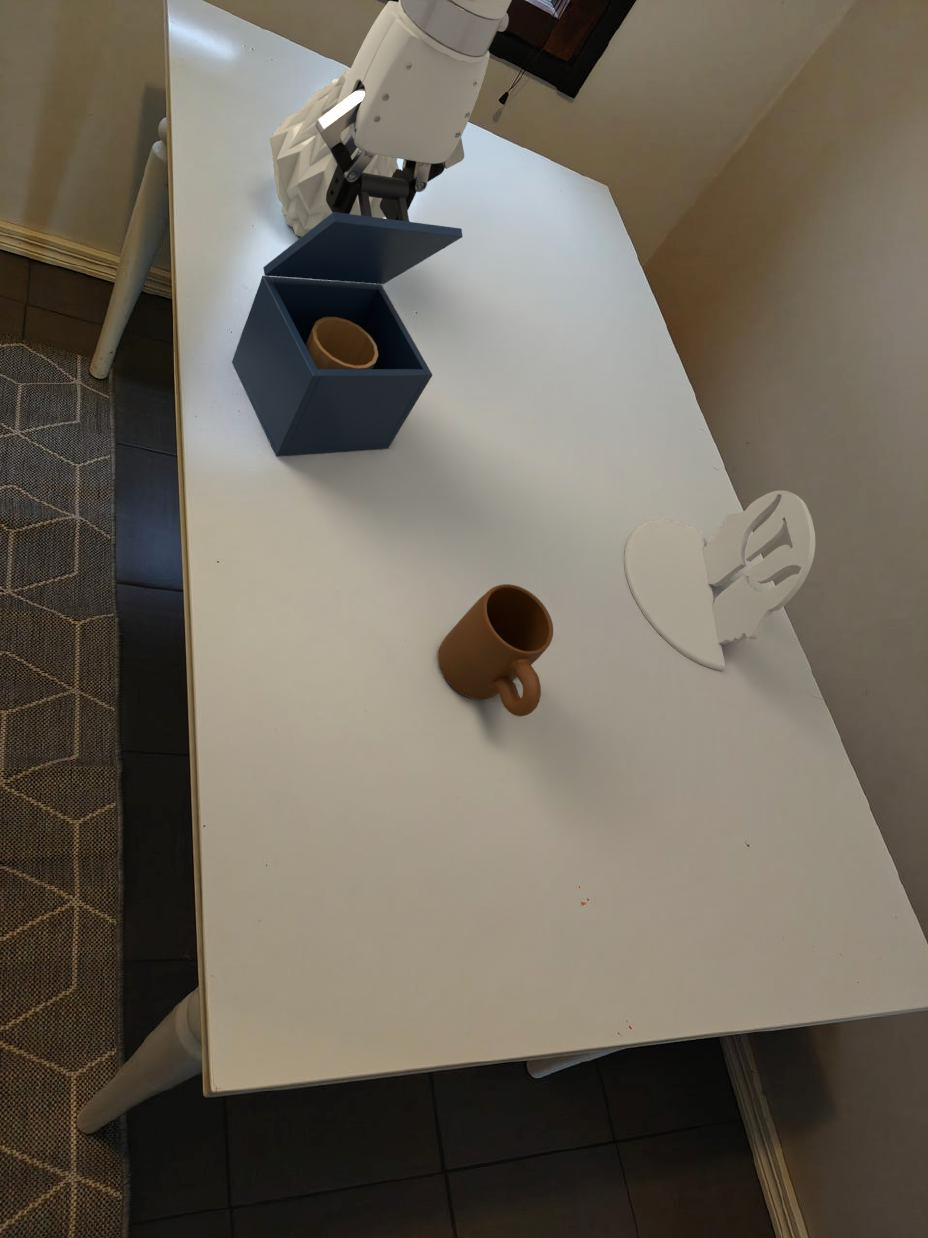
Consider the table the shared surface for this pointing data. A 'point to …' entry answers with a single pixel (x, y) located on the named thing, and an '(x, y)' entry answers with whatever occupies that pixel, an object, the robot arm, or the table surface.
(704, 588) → the ornament
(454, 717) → the table surface
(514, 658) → the mug
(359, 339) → the wooden cup
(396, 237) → the cooler lid
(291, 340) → the cooler
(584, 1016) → the table surface
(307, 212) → the vase
